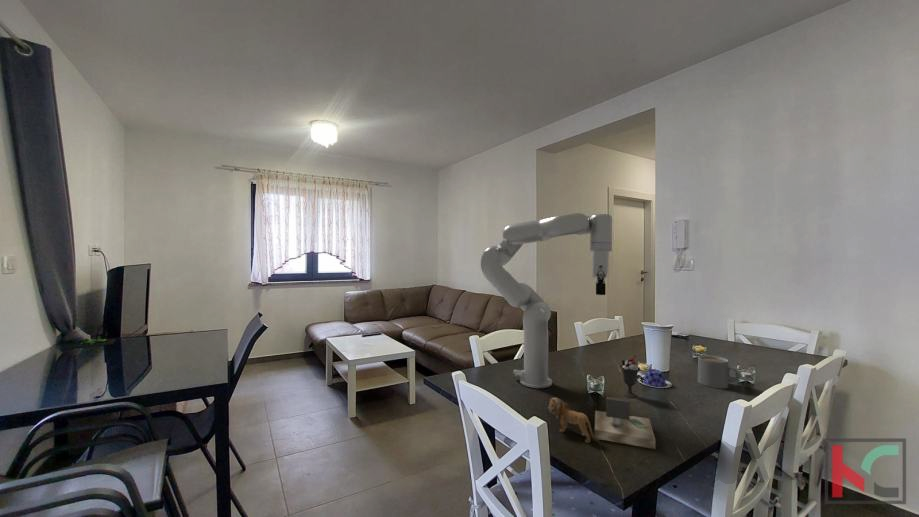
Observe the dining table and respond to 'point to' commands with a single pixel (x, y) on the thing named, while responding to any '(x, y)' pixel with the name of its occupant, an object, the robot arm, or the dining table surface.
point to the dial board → (625, 430)
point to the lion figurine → (570, 417)
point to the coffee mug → (715, 371)
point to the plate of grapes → (655, 379)
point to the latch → (617, 409)
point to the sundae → (630, 375)
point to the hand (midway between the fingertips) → (600, 293)
